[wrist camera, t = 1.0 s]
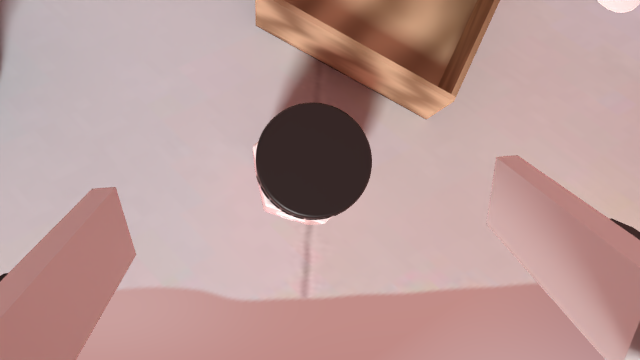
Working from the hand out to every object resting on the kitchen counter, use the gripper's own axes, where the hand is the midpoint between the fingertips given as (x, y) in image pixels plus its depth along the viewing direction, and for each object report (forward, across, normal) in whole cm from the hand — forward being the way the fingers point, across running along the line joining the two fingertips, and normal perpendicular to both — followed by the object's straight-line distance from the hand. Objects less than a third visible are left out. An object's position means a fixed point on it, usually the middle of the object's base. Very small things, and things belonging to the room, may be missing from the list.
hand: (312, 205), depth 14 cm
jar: (+23, 0, -10) cm, 25 cm away
